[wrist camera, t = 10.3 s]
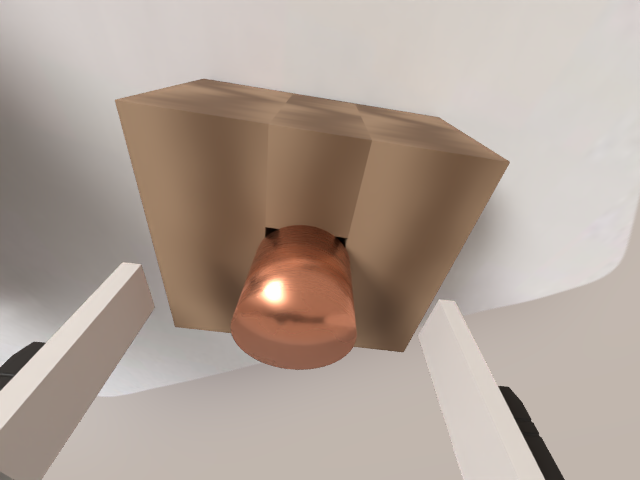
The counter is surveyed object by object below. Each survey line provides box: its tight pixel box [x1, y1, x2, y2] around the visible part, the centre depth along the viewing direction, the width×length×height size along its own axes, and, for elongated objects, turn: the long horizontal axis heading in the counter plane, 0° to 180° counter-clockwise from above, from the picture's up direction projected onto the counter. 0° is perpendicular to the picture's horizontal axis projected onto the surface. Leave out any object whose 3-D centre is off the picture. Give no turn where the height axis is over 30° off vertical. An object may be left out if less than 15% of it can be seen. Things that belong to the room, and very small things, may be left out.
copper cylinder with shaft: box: [231, 225, 357, 370], centre depth 16 cm, size 5×5×10 cm
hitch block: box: [115, 79, 510, 352], centre depth 19 cm, size 16×14×9 cm
